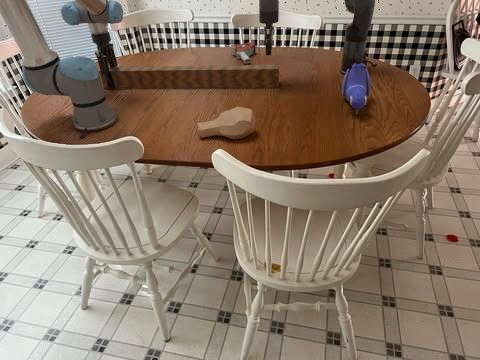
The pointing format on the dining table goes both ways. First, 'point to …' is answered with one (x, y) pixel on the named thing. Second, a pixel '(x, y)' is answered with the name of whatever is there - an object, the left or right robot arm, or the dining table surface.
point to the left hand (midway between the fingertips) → (114, 85)
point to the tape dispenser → (243, 51)
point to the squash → (230, 124)
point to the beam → (194, 77)
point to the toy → (356, 86)
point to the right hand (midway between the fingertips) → (269, 52)
